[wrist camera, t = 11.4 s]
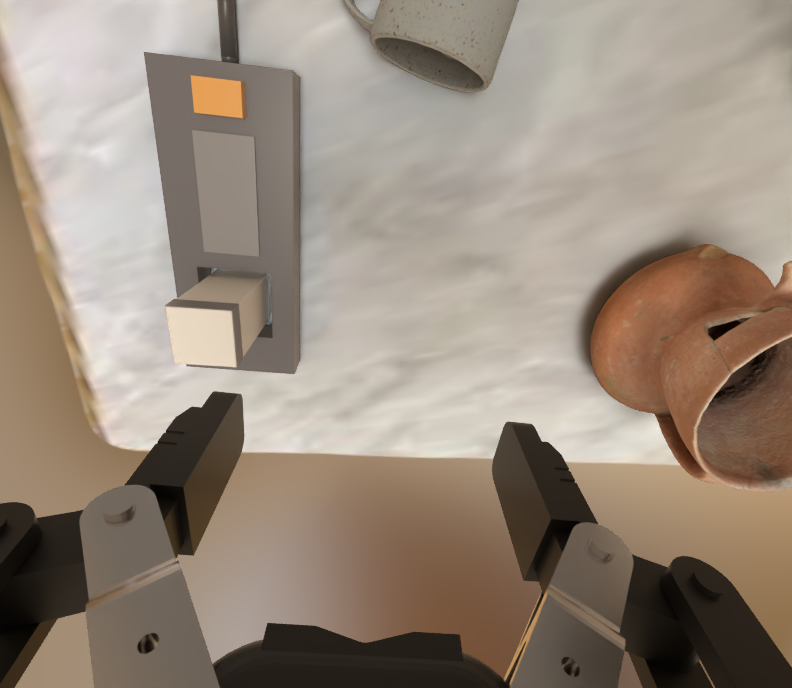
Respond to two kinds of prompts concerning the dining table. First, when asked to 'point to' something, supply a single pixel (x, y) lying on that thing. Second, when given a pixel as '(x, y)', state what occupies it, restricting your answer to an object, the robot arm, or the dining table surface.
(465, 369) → the dining table surface
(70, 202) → the dining table surface
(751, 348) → the ceramic jug
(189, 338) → the block
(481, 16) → the ceramic mug
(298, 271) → the power strip
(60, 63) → the dining table surface
